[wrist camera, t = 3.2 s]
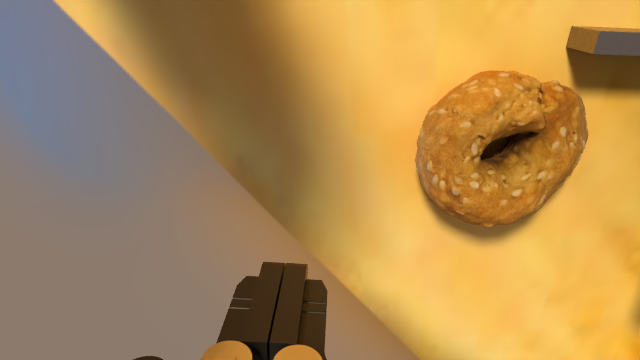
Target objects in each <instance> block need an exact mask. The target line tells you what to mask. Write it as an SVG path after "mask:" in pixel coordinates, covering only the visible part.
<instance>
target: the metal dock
mask: <svg viewBox="0 0 640 360" xmlns="http://www.w3.org/2000/svg"><path fill="white" fill-rule="evenodd" d="M566 47H568V48H572V49H575V50H579V51H583V52H587V53H591V54H602V55H626V56H640V29H626V28H602V27H577V26H572V27H571V31H570V35H569V38H568V42H567V46H566Z"/></svg>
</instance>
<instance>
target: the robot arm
mask: <svg viewBox="0 0 640 360" xmlns="http://www.w3.org/2000/svg"><path fill="white" fill-rule="evenodd" d="M326 306H327V289H326V288H325V286H324V284H323V282H322V280H309V279H307V264H294V263H286V265H285V263H275V262H274V263H273V262H263V264H262V267H261V271H260V275H259V277H255V276H246V277H245V278H244V279H243V280H242V281H241V282H240V283H239V284H238V285H237V287H236V290H235V293H234V295H233V299H232V301H231V304H230V308H229V309H228V312H227V315H226V318H225V321H224V323H223V326H222V329H221V332H220V335H219V337H218V341H217V343H216V344H215V345H213V346H211V347H210V348H209V349H208V350H206V352H205V353H204V354H203V356H202V358H201V360H327V359H326V357H325V353H324V346H325V328H326ZM134 360H163V359H161V358H159V357H155V356H145V357H140V358H137V359H134Z"/></svg>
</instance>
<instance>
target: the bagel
mask: <svg viewBox="0 0 640 360" xmlns="http://www.w3.org/2000/svg"><path fill="white" fill-rule="evenodd" d="M585 114H586V113H585V107H584V105H583V101H582V98H581V97H580V96H579V95H578V94H577V92H576V91H575V90H574V89H572V88H568V87H566V86H562V85H560V83H559V82H558V81H554V80H553V81H551V82H547V83H540V82H539V81H537V80H536V79H535V78H533V77H530V76H525V75H522V74H520V73H518V72H516V71H508V72H505V71H485V72H480V73H478V74H476V75H474V76H472V77H471V78H470V79H468V80H467V81H466V82H464V83H462V84H460V85H459V86H457V87H456V88H454V89H453V90H451V91H450V92H449V93H448V94H447V95H446V96H444V97H443V98H442V99H441V100H440V101H439V102H438V103H437V104H436V105H434V106H432V107H431V108H430V110H429V111H428V114H427V115H426V117H425V120H424V122H423V125H422V127H421V130H420V134H419V136H418V139H417V147H418V149H417V154H416V158H415V162H416V168H417V172H418V174H419V178H420V181H421V184H422V187H423V189H424V191H425V192H426V193H427V194H428V196H429V197H430V199H431V200H432V201H433V202H434V203H435V204H436V205H437V206H438V207H439V208H440V209H441V210H443V211H445V212H446V213H448V214H451V215H453V216H455V217H457V218H458V219H461V220H463V221H465V222H469V223H472V224H475V225H479V226H481V227H492V226H494V225H499V224H500V225H502V224H510V223H513V222H515V221H517V220H518V219H520V218H523V217H525V216H527V215H529V214H532V213H534V212H536V211H537V210H538V209H539V208H541V207H542V205H543V204H544V203H545V201H546V200H547V199H548V197H549V196H550V195H552V194H553V193H554V192H555V191H556V190H557V189H558V188H559V187H560V186H561V185H562V184H563V183H564V180H565V178H566V177H568V176H569V175H570V174H571V173H572V172H573V169H574V168H575V167H576V165H577V164H578V162H579V160H580V158H581V154H582V152H583V150H584V147H585V144H586V142H587V139H588V130H587V126H586V125H587V122H586V118H585ZM511 135H513V137H512V138H511V139H510V141H509V142H508V144H507V145H506V147H505V148H504V149H503V150H502V152H501V154H500V155H499V154H497V155H496V156H495V157H490V158H486V159H482V158H480V155H481V154H482V153H483V150H484V149H485V148H486V147H487V146H488V144H490V143H491V142H492V141H494V140H498V139H500V138H504V137H509V136H511Z"/></svg>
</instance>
